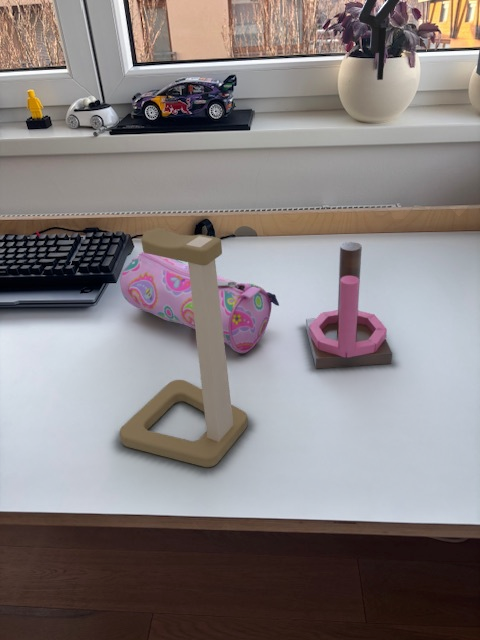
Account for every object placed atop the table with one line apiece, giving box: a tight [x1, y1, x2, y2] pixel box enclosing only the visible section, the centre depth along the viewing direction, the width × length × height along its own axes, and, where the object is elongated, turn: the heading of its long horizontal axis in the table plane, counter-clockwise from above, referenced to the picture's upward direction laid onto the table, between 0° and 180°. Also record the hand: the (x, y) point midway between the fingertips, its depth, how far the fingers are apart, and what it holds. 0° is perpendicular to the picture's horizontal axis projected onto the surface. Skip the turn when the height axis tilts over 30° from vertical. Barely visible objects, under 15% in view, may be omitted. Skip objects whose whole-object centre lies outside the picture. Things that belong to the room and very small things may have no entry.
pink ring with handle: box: [309, 276, 388, 357], centre depth 65 cm, size 9×10×10 cm
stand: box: [305, 241, 393, 369], centre depth 65 cm, size 9×9×14 cm
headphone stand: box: [119, 227, 249, 468], centre depth 51 cm, size 10×11×22 cm
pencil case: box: [119, 251, 280, 354], centre depth 72 cm, size 21×9×9 cm, turn 50°
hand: (429, 76), depth 76 cm, fingers open, 13 cm apart
